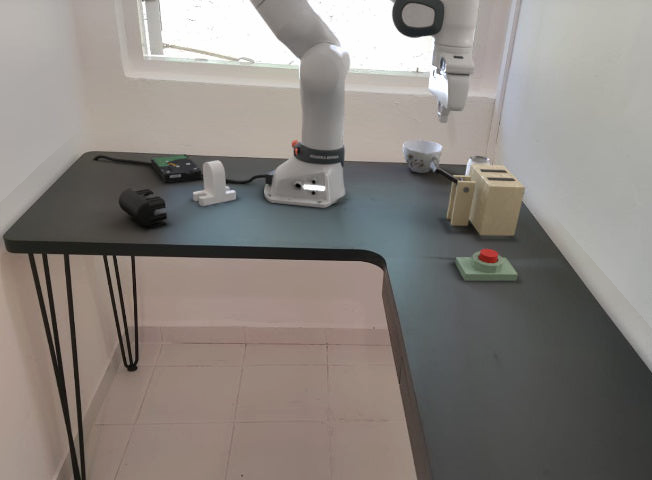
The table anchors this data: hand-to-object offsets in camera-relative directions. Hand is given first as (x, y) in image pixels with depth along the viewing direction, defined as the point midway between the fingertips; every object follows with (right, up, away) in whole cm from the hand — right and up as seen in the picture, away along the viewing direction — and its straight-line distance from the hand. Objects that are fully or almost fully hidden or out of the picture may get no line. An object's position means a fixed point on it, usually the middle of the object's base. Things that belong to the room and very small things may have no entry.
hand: (441, 121), depth 139 cm
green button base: (+9, -36, -5) cm, 37 cm away
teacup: (-1, 0, +50) cm, 50 cm away
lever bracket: (+5, -22, +16) cm, 28 cm away
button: (+9, -33, -7) cm, 35 cm away
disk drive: (-72, -5, +30) cm, 78 cm away
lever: (+2, -12, +8) cm, 15 cm away
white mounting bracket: (-58, -15, +16) cm, 62 cm away
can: (+12, -12, +33) cm, 37 cm away
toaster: (+14, -22, +17) cm, 31 cm away
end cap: (-70, -23, +1) cm, 74 cm away
